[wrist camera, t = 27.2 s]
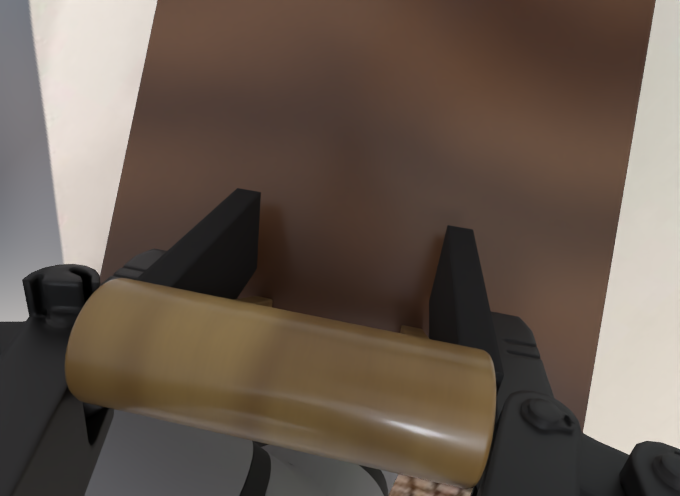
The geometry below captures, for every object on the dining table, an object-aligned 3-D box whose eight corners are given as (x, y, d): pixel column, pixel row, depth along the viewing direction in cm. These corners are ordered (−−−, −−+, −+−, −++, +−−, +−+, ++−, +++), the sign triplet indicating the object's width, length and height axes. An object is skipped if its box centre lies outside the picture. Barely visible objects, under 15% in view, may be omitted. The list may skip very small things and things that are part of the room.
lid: (570, 444, 16) (910, 749, 6) (98, 343, 17) (-303, 442, 7) (651, -35, 17) (1091, -536, 6) (188, -93, 18) (-62, -574, 8)
